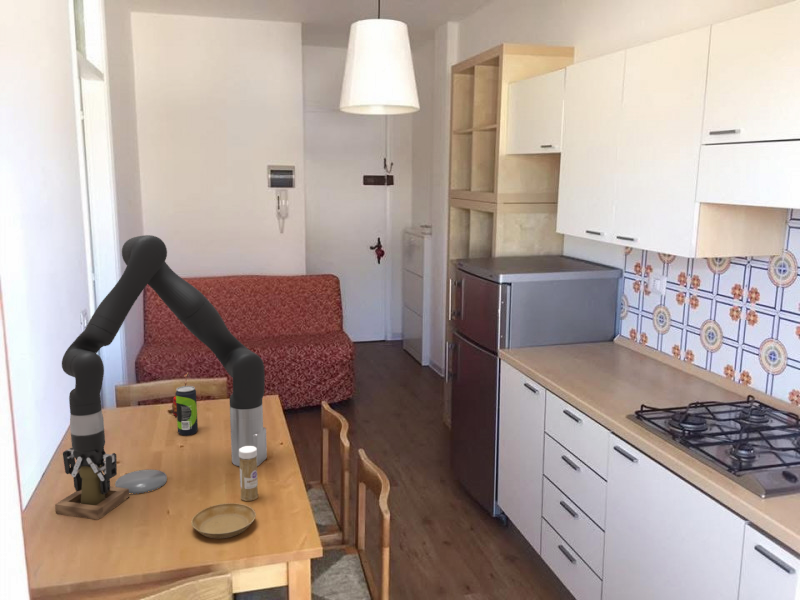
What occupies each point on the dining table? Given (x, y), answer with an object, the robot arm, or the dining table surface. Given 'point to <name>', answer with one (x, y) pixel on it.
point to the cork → (90, 486)
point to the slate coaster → (142, 481)
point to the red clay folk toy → (175, 400)
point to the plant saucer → (223, 520)
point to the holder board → (75, 508)
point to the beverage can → (186, 410)
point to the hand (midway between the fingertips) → (92, 491)
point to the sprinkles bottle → (248, 473)
